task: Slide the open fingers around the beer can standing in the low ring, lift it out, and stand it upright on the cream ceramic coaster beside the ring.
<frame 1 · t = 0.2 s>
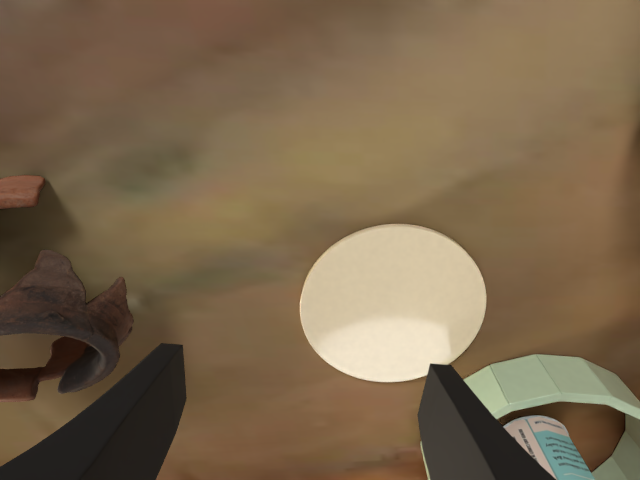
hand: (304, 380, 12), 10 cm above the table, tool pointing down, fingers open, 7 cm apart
coaster: (391, 307, 23), on the table
ring: (525, 436, 27), on the table
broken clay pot: (40, 263, 23), on the table
beer can: (524, 433, 27), resting in ring
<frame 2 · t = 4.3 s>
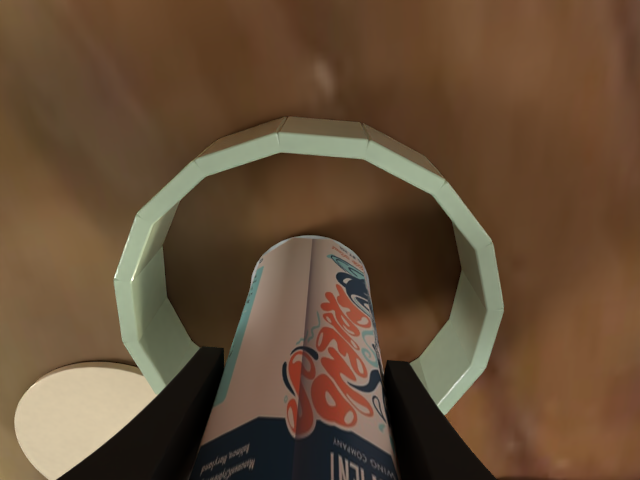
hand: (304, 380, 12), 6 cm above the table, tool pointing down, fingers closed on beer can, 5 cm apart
coaster: (120, 438, 21), on the table
ring: (311, 282, 17), on the table
beer can: (311, 280, 18), resting in ring, touching gripper
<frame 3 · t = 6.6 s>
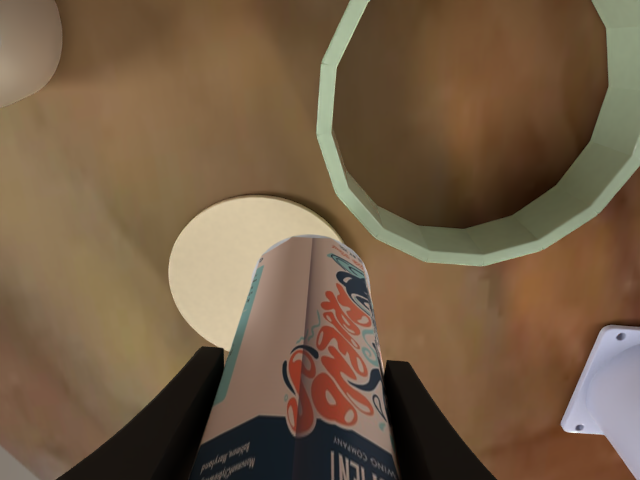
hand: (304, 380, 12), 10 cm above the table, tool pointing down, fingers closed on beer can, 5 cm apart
coaster: (262, 281, 23), on the table
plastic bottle: (10, 18, 18), on the table
ring: (466, 103, 19), on the table
beer can: (311, 279, 18), point 5 cm above the table, touching gripper
when the fingers open (6 cm above the table, at t = 8.7 s): beer can stays where it is, resting on coaster.
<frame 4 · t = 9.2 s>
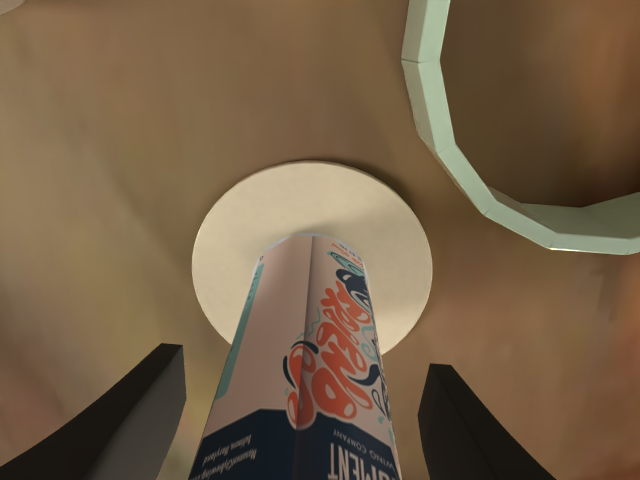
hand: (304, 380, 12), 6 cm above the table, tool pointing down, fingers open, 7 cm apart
coaster: (312, 276, 18), on the table
ring: (605, 33, 14), on the table
beer can: (311, 277, 18), resting on coaster
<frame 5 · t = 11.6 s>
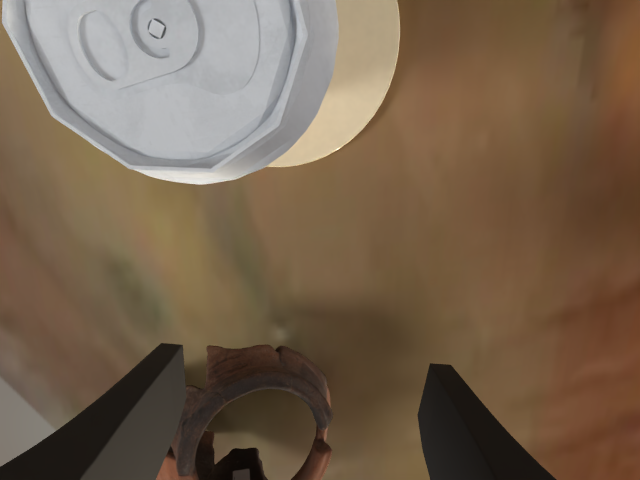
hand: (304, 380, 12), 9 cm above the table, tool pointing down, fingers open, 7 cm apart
coaster: (272, 41, 17), on the table
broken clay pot: (245, 395, 25), on the table
beer can: (270, 40, 17), resting on coaster
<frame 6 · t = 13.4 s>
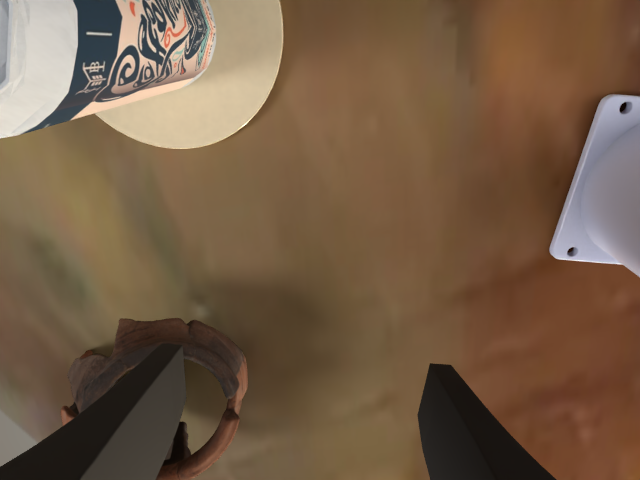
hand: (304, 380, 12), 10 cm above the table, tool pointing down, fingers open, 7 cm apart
coaster: (166, 29, 18), on the table
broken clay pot: (173, 371, 26), on the table
beer can: (163, 28, 18), resting on coaster
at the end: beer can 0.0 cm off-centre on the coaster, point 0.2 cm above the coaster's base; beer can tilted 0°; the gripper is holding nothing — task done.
